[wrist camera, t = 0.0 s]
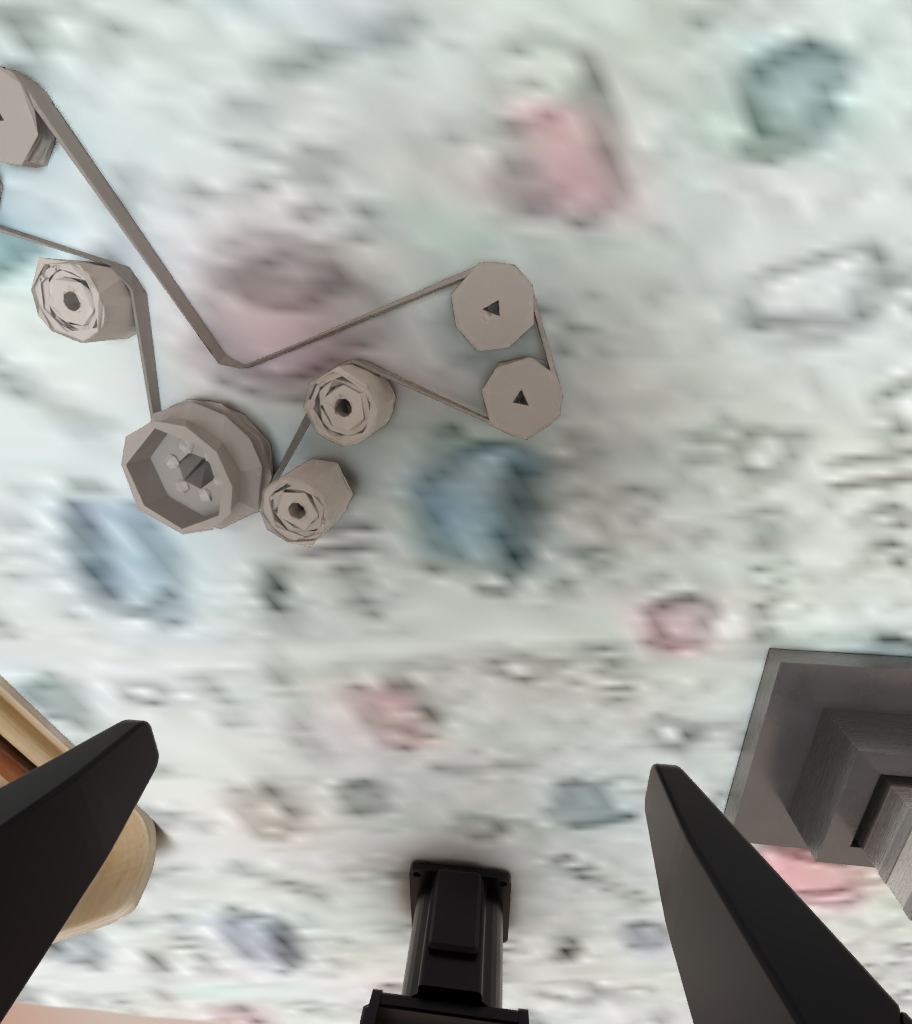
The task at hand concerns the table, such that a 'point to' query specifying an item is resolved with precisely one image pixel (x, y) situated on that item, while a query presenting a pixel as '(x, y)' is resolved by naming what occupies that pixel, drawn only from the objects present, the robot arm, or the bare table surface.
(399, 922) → the table surface
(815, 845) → the stand base
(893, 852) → the grey slab
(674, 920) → the robot arm
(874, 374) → the table surface
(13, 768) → the toy food set
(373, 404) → the pulley system
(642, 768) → the table surface
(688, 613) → the table surface
